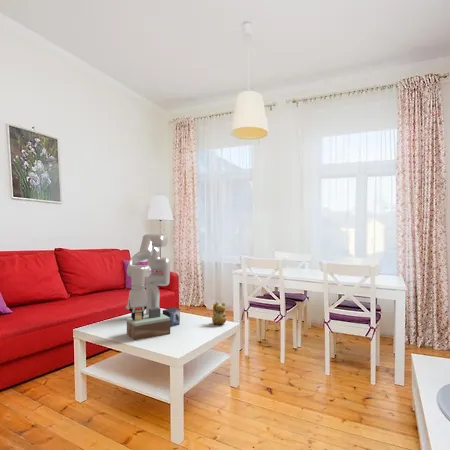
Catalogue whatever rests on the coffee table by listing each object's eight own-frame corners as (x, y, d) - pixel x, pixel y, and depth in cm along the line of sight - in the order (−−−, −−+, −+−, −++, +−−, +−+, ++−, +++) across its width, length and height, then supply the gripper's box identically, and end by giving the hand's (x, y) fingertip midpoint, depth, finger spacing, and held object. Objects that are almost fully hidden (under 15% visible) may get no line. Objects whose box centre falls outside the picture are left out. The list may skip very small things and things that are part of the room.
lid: (126, 320, 194) (126, 309, 194) (160, 315, 207) (160, 304, 207) (135, 326, 183) (135, 314, 183) (170, 320, 196) (170, 309, 196)
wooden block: (132, 319, 191) (133, 309, 191) (139, 318, 193) (139, 308, 193) (134, 321, 188) (135, 310, 188) (141, 320, 190) (142, 309, 190)
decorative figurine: (226, 322, 219) (227, 300, 220) (225, 326, 211) (225, 303, 211) (212, 322, 221) (213, 300, 221) (210, 325, 212) (211, 303, 213)
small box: (168, 328, 206) (168, 311, 206) (161, 326, 210) (161, 310, 210) (180, 324, 215) (180, 308, 215) (173, 322, 219) (173, 307, 219)
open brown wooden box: (126, 333, 194) (126, 320, 194) (160, 327, 206) (161, 315, 206) (134, 340, 182) (134, 326, 182) (170, 333, 195) (170, 320, 195)
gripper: (149, 285, 198) (148, 315, 198) (121, 288, 189) (121, 319, 189) (153, 287, 192) (153, 318, 192) (125, 290, 183) (125, 322, 182)
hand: (137, 318), depth 190 cm, fingers closed on wooden block, 4 cm apart
